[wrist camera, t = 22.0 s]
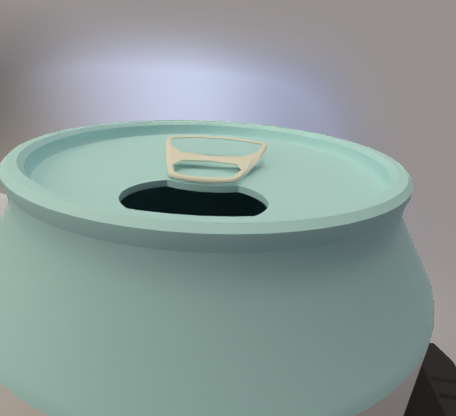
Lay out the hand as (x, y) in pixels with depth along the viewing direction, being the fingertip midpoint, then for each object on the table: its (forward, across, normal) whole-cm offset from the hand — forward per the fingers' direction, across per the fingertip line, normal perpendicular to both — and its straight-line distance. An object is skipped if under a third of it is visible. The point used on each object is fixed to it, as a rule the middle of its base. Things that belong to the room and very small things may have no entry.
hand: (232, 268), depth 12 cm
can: (-5, 0, -7) cm, 8 cm away
